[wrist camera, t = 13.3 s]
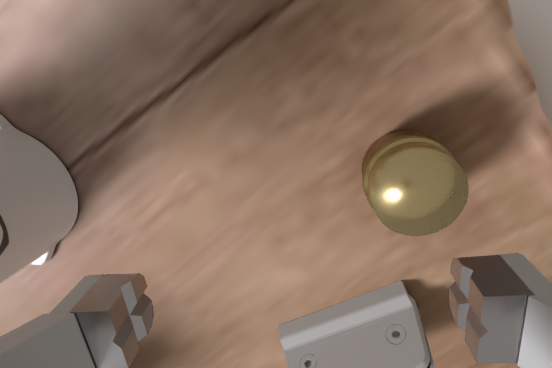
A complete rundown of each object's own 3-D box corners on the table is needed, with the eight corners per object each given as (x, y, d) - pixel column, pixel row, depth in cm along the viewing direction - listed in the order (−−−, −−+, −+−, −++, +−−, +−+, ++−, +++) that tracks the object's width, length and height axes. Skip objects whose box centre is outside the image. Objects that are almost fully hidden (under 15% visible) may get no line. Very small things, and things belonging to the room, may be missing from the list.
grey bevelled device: (404, 278, 41) (442, 369, 34) (415, 298, 44) (453, 386, 36) (275, 326, 45) (282, 417, 38) (292, 342, 48) (303, 429, 40)
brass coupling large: (359, 206, 39) (368, 240, 32) (358, 130, 36) (368, 150, 29) (440, 202, 38) (467, 236, 31) (446, 123, 35) (477, 143, 28)
